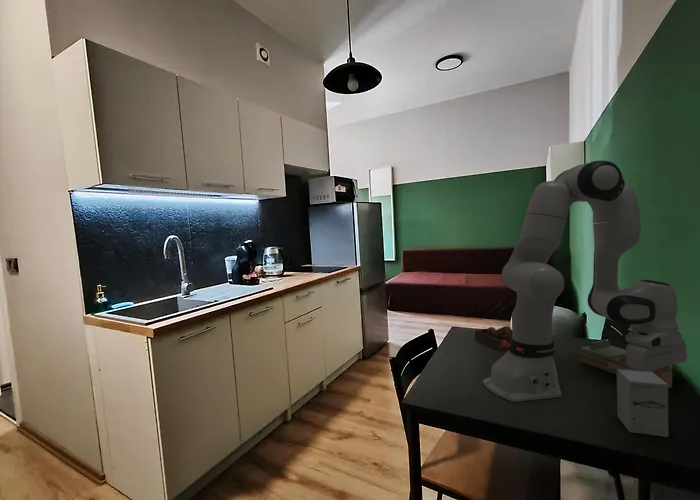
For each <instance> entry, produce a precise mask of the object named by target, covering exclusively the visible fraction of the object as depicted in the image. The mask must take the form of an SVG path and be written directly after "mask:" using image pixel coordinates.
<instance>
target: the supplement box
mask: <svg viewBox="0 0 700 500" xmlns="http://www.w3.org/2000/svg"><path fill="white" fill-rule="evenodd" d="M616 393H617V394H616V401H617V404H616V406H617V409H616V410H617V418H619V419H618V420H620V421H621V423H622V424H623V426H624V427H625V429H627V431H628V432H629V433H631V434H632V433H633V434H640V435H642V434H643V435H647V436H657V437H663V438H669V389H668V384H667V383H666V382H664V381H663V380H662V379H661V378H659V377H658V376H657V375H655V374H654V373H653V372H645V371H632V370H620V369H617V375H616Z"/></svg>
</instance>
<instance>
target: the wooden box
mask: <svg viewBox="0 0 700 500" xmlns="http://www.w3.org/2000/svg"><path fill="white" fill-rule="evenodd" d="M609 346H612V347H615V348H618V349H622V350H625V351H626V348H621V347H617V346H614V345H611V344H609ZM579 362H580V363H583V364H585V365H586V364H587V365H589V366H591V367H595V368H597V369H599V370H602V371H605V372H607V373H610V374H613V375H615V374H616V376H617V369H620V370H632V369H630V368H629V367H628V365H627V362H626V356H622V357H618V358H613V359H608V358H605V357H602V356H599V355H596V354H593V353H590V352H587V351H584V350H581V349H580V350H579ZM661 368H662V367H661ZM632 371H635V370H632Z"/></svg>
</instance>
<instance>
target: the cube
mask: <svg viewBox="0 0 700 500" xmlns="http://www.w3.org/2000/svg"><path fill="white" fill-rule="evenodd" d="M653 373H654V374H655V375H657V376H658V377H659V378H661V379H662V380H663V381H664V382H666V383H667V384H668V390H669V389H672V388H673V370H668V369H664V368H657V369H654V372H653Z"/></svg>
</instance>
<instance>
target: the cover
mask: <svg viewBox="0 0 700 500" xmlns="http://www.w3.org/2000/svg"><path fill="white" fill-rule="evenodd" d="M609 345H610V340H609V339H606V338H605V339H602V340H601V339H600V340H596V341H592V342H589V344H588V345H587V346H582V347H580V350H584V351H587V352H590V353H593V354H596V355H599V356H602V357H605V358H608V359H613V358H618V357H622V356H626V351H625V350H626V349H625V350H622V349H623V348H622V349H618V348H619V347H618V348H615V347H616V346H615V347H612V346H613V345H611V346H609Z"/></svg>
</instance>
